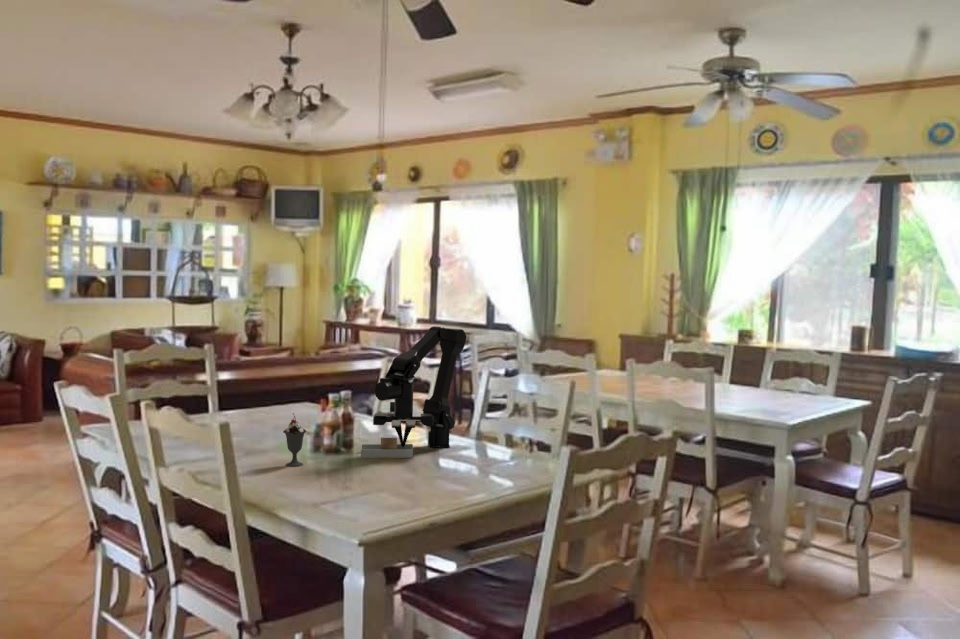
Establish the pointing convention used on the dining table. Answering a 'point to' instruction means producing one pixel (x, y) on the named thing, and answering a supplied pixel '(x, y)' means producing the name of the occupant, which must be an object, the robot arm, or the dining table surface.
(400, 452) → the channel
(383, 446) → the block
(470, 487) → the dining table surface
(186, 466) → the dining table surface
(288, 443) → the sundae
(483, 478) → the dining table surface
